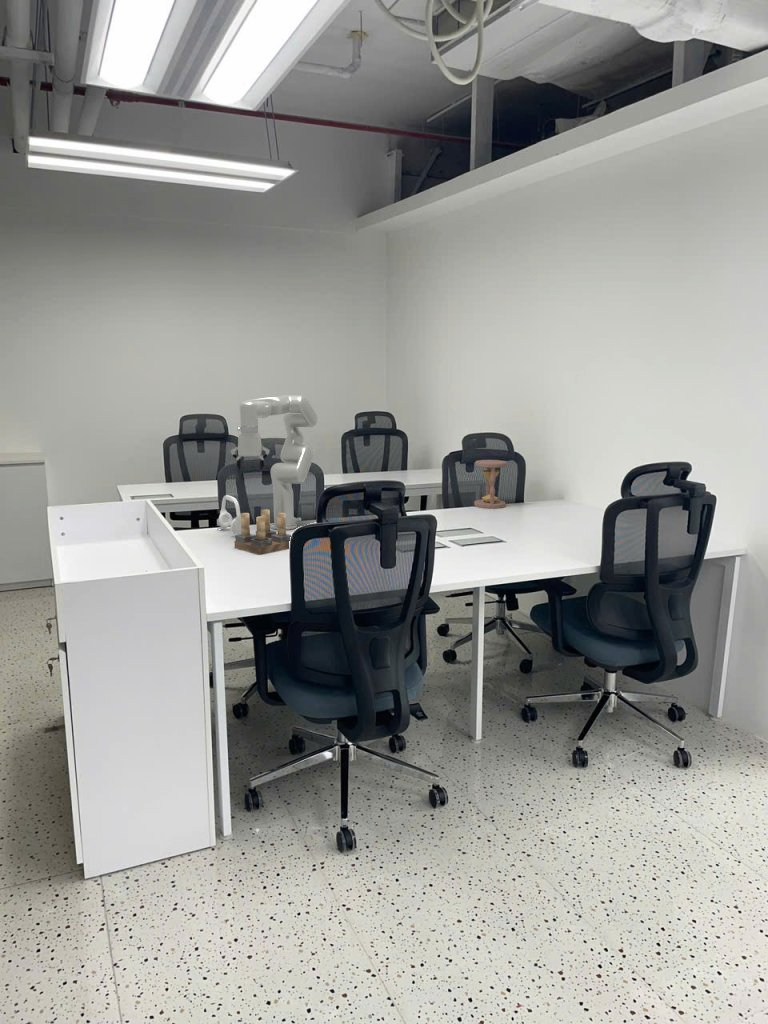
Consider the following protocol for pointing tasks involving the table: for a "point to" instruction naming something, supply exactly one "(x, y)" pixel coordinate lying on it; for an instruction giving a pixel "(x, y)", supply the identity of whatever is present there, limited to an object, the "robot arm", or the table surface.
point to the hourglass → (490, 484)
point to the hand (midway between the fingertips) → (250, 468)
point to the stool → (272, 539)
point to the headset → (226, 518)
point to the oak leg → (260, 528)
